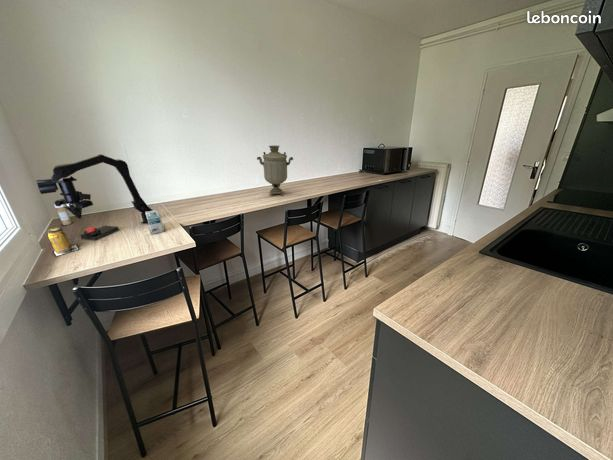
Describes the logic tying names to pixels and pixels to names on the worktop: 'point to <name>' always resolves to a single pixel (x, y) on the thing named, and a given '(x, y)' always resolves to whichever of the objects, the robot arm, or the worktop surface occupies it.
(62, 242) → the condiment
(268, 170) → the samovar
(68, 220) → the sprinkles bottle
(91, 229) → the button
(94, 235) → the black control pad
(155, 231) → the light bulb box
